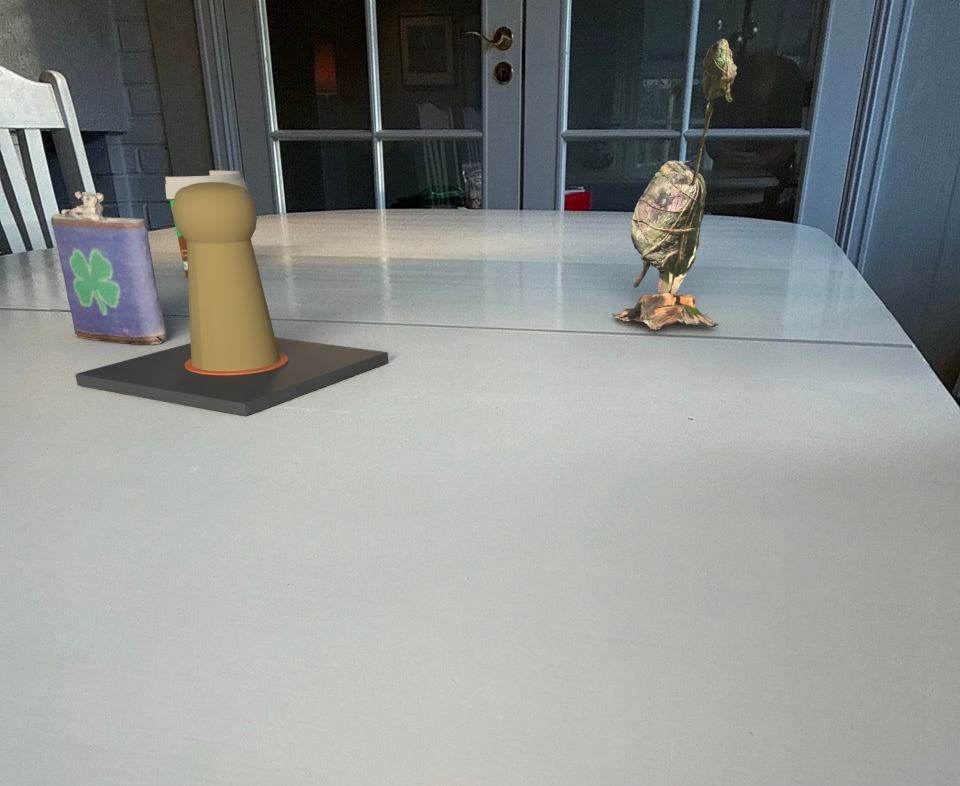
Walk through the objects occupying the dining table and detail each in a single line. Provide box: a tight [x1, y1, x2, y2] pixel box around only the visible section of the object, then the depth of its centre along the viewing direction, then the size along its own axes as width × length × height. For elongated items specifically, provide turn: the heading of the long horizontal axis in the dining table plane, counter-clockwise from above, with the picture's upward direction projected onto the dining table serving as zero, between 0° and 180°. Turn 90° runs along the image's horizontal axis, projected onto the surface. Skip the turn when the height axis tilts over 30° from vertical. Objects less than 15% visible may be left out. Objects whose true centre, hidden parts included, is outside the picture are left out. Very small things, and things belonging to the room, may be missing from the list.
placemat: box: [74, 336, 389, 417], centre depth 62 cm, size 15×15×1 cm
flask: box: [50, 190, 168, 346], centre depth 70 cm, size 9×3×11 cm, turn 63°
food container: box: [164, 170, 248, 278], centre depth 101 cm, size 12×6×10 cm, turn 171°
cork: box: [171, 182, 280, 372], centre depth 59 cm, size 6×6×11 cm
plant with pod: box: [611, 38, 738, 330], centre depth 71 cm, size 8×11×20 cm
